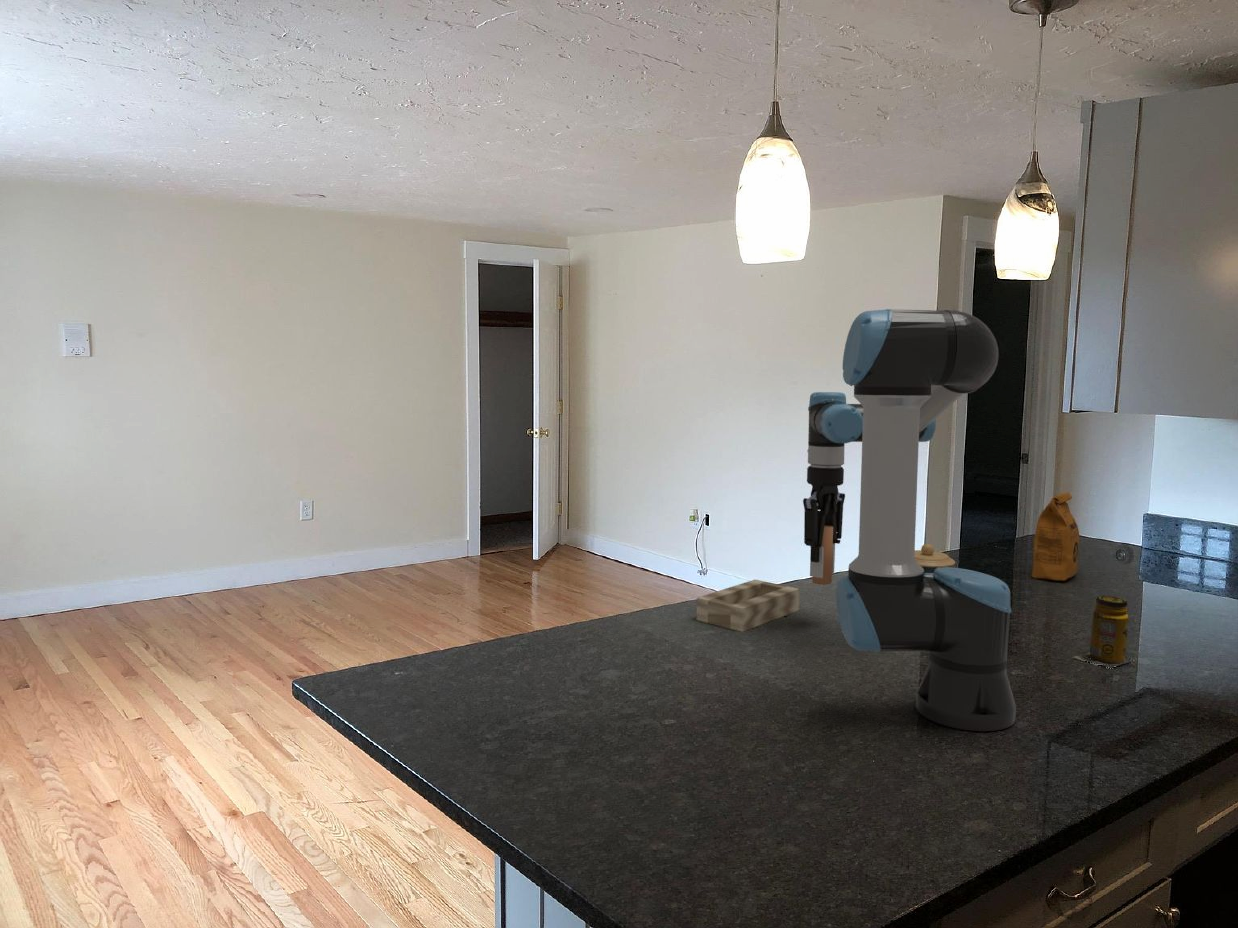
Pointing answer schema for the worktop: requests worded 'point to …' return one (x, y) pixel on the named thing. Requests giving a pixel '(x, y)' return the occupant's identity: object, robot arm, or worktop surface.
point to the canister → (932, 560)
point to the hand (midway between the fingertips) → (822, 574)
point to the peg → (826, 557)
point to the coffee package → (1056, 541)
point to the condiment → (1108, 631)
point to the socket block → (747, 605)
